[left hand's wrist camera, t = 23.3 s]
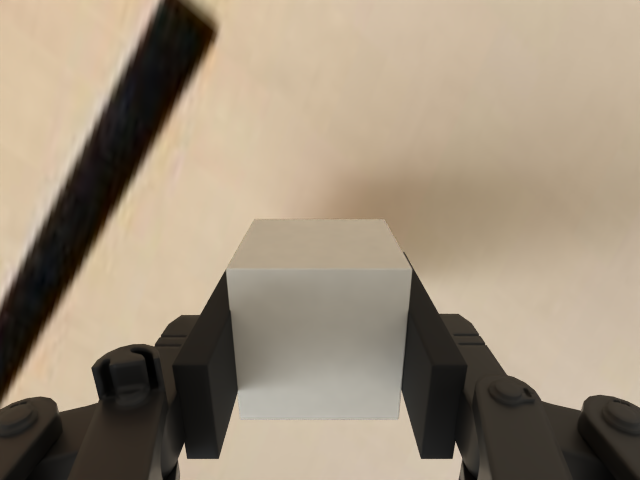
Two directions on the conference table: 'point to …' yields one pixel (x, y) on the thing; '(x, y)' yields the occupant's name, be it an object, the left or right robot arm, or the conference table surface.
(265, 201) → the conference table surface
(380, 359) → the block
